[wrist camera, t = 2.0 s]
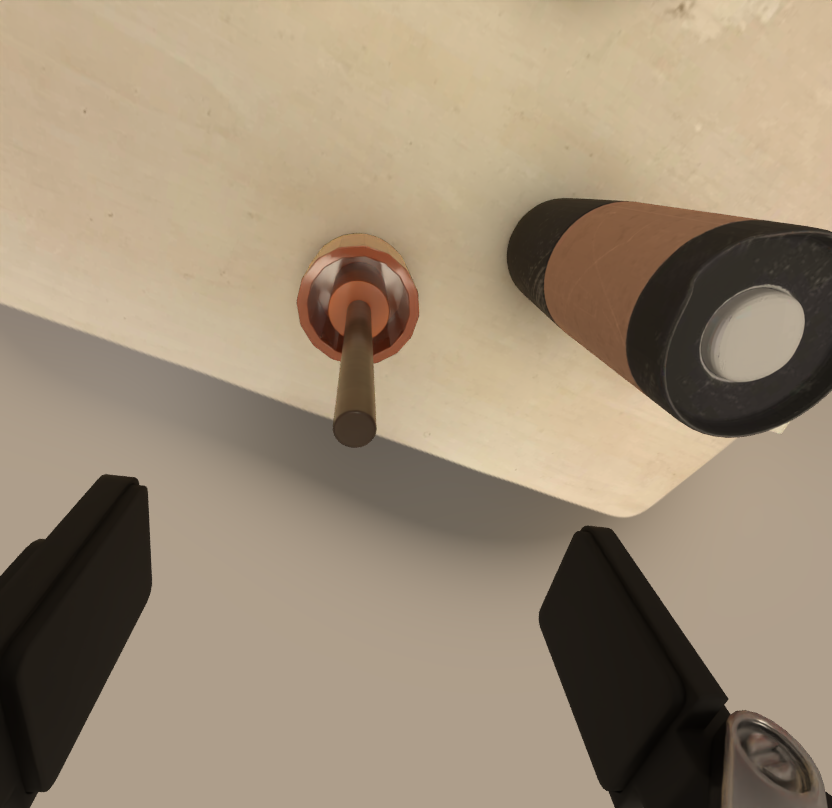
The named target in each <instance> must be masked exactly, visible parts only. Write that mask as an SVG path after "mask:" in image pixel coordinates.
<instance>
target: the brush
mask: <svg viewBox="0 0 832 808" xmlns="http://www.w3.org/2000/svg"><path fill="white" fill-rule="evenodd" d="M389 313H390V312H389V303H388V297H387V292H386V286H385V282H384V279H383V277H382V275H381V273H380V272H379V271H378V270H377V269H376V268H375V267H373V266H372V265H370V264H367V263H363V262H355V263H351V264H348V265H346V266H345V267H343V268H342V269H341V270H340V271H339V273H338V274H337V276H336V278H335V281H334V285H333V289H332V292H331V296H330V300H329V304H328V315H329V319H330V322H331V324H332V325H333V327H334V328H335V329H336V331H337V332H339V333H340V334H341V335H343V336H344V339H343V347H342V356H341V364H340V372H339V380H338V389H337V397H336V405H335V413H334V422H333V433H334V436H335V437H336V439H337V440H338V441H339V442H340V443H341V444H343V445H345V446H348V447H352V448H357V447H362V446H364V445H367V444H368V443H369V442H370V441H372V439H373V438H374V436H375V434H376V430H377V428H376V407H375V386H374V365H373V344H372V338H373V337H375V336H376V335H378V334H379V333H380V332H381V331H382V330H383V329H384V328H385V326H386V324H387V322H388V319H389Z"/></svg>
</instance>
